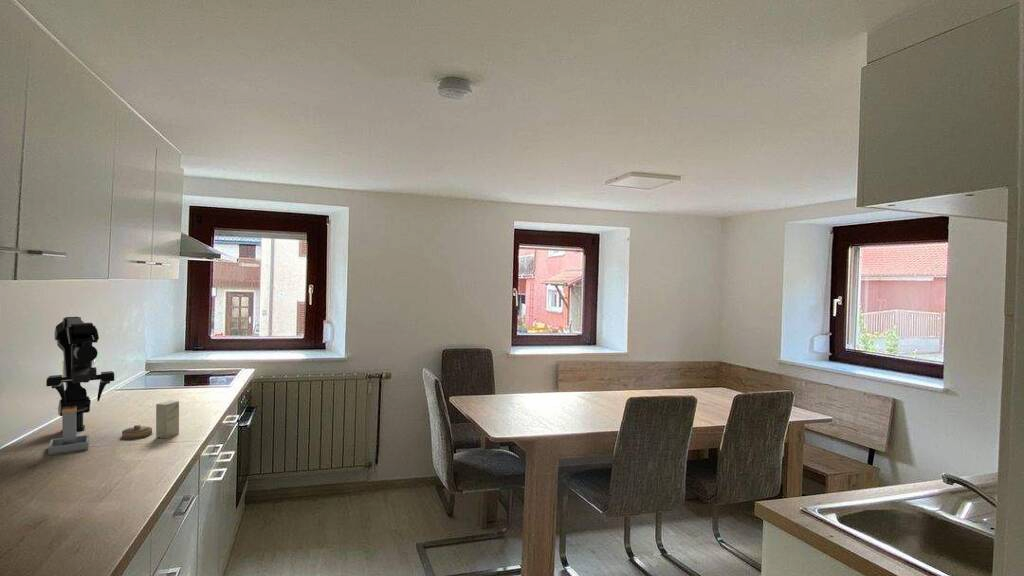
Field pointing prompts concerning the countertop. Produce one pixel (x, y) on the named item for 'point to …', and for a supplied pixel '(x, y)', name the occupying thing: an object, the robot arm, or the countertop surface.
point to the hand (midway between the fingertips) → (81, 402)
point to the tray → (59, 448)
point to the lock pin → (69, 425)
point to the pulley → (136, 432)
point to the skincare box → (167, 419)
